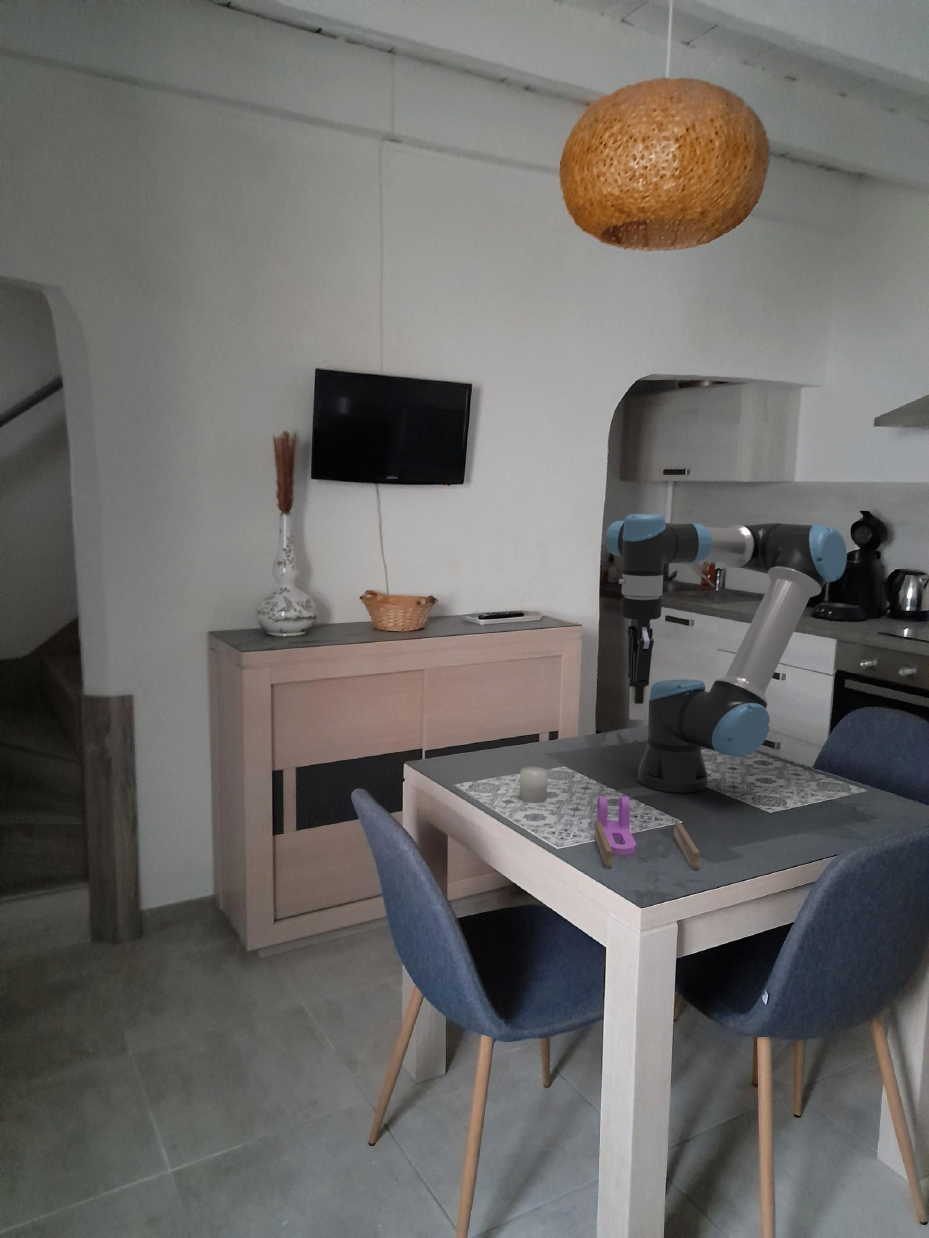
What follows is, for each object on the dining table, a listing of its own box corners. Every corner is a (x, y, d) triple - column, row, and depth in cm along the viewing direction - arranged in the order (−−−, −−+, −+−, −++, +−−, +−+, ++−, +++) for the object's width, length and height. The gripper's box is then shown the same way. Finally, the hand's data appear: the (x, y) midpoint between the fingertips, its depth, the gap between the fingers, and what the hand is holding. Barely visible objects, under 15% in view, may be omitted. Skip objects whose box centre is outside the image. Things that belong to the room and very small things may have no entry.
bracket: (596, 828, 170) (597, 793, 169) (625, 828, 170) (626, 793, 169) (607, 855, 158) (608, 818, 156) (638, 856, 158) (640, 819, 157)
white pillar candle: (545, 793, 189) (546, 766, 188) (547, 803, 183) (548, 775, 182) (519, 793, 189) (519, 766, 188) (520, 802, 183) (521, 774, 182)
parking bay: (679, 837, 166) (680, 822, 166) (698, 869, 152) (699, 852, 152) (594, 836, 166) (594, 820, 166) (605, 867, 152) (606, 851, 152)
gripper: (615, 592, 173) (611, 709, 176) (627, 601, 160) (623, 727, 163) (653, 592, 173) (649, 710, 176) (669, 601, 160) (663, 728, 163)
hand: (636, 718), depth 170 cm, fingers closed
